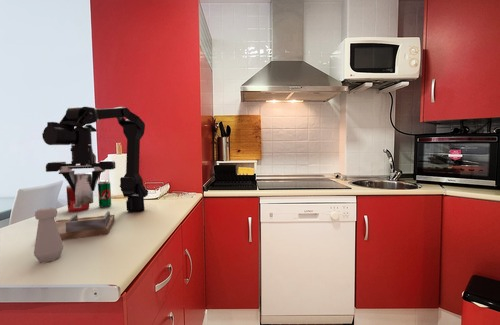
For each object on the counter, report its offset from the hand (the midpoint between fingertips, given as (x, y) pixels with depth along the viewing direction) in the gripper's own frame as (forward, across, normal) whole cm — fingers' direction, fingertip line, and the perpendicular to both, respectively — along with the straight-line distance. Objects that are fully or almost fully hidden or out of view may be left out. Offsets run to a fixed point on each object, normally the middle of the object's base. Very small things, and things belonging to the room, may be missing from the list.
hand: (84, 191), depth 84 cm
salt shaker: (+13, +3, +22) cm, 26 cm away
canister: (+4, 0, 0) cm, 4 cm away
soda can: (+13, 0, -34) cm, 36 cm away
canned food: (+13, +10, -32) cm, 36 cm away
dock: (+13, +1, 0) cm, 13 cm away
